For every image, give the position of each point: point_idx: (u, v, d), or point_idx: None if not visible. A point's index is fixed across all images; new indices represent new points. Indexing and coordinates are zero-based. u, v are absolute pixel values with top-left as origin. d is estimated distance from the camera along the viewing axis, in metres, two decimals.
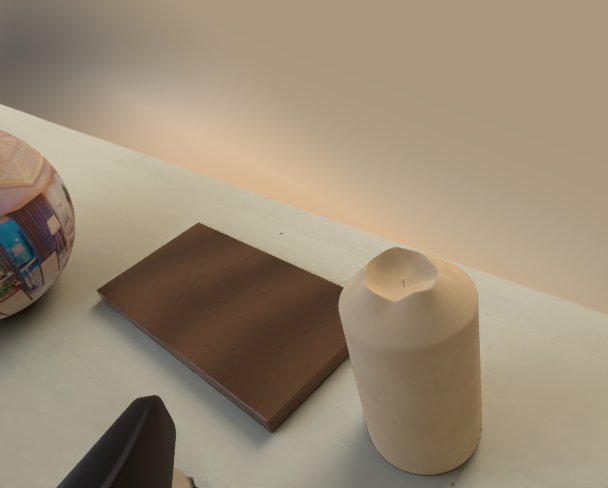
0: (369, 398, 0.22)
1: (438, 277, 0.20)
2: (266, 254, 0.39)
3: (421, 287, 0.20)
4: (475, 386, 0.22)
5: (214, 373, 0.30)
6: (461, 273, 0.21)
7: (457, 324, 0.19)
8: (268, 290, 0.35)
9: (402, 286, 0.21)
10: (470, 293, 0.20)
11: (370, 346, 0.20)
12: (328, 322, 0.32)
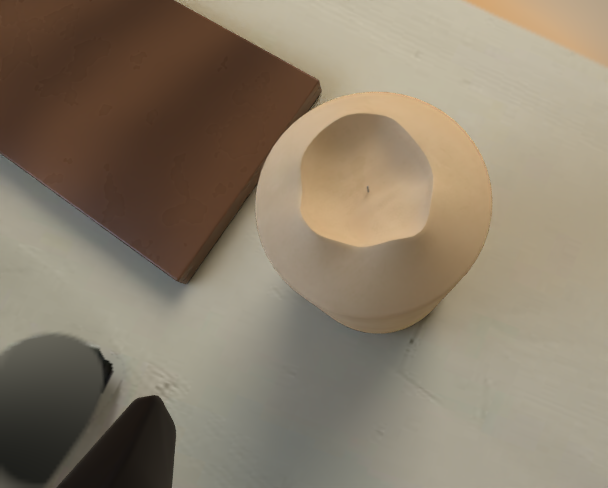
0: None
1: (434, 195, 0.11)
2: None
3: (399, 196, 0.11)
4: None
5: (90, 208, 0.22)
6: (467, 153, 0.12)
7: (458, 270, 0.11)
8: (140, 52, 0.23)
9: (364, 191, 0.12)
10: (481, 202, 0.12)
11: (316, 305, 0.12)
12: (239, 112, 0.22)
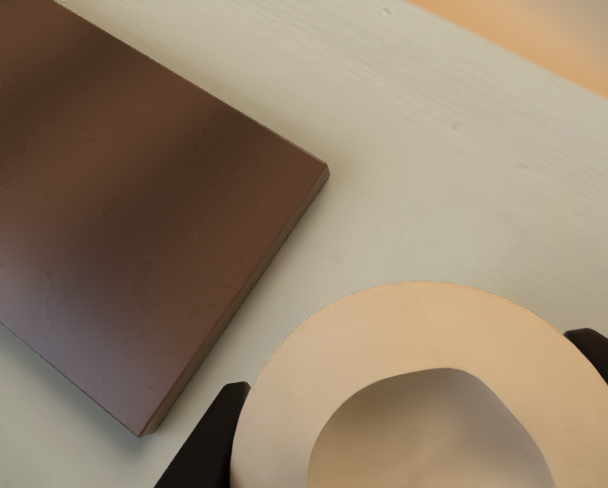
0: None
1: None
2: (76, 18, 0.19)
3: None
4: None
5: (26, 330, 0.17)
6: (607, 423, 0.07)
7: None
8: (95, 120, 0.18)
9: None
10: None
11: None
12: (221, 206, 0.16)
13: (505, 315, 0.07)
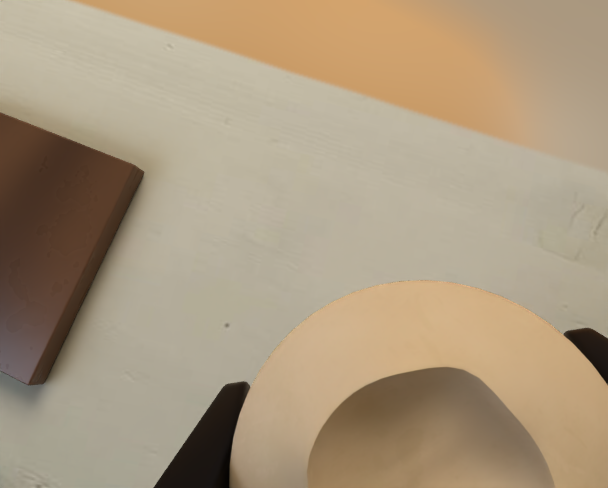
0: None
1: None
2: None
3: None
4: None
5: None
6: (607, 423, 0.07)
7: None
8: None
9: None
10: None
11: None
12: (64, 209, 0.22)
13: (505, 314, 0.07)
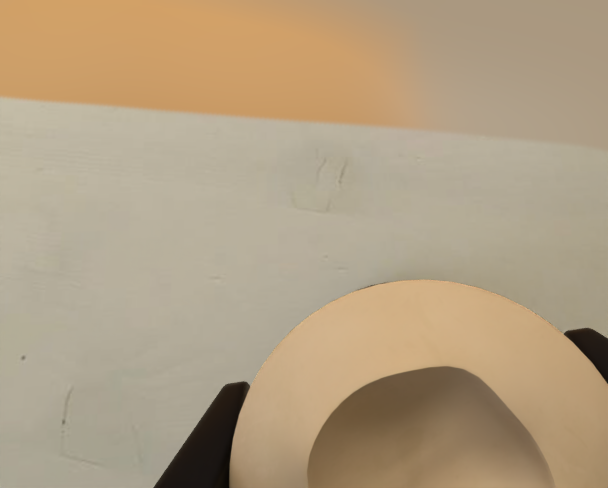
0: None
1: None
2: None
3: None
4: None
5: None
6: (607, 422, 0.07)
7: None
8: None
9: None
10: None
11: None
12: None
13: (505, 314, 0.07)
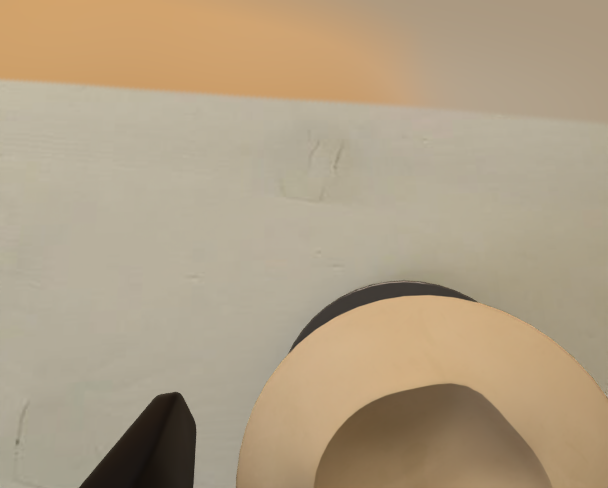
0: None
1: None
2: None
3: None
4: None
5: None
6: (607, 437, 0.07)
7: None
8: None
9: None
10: None
11: None
12: None
13: (507, 329, 0.07)
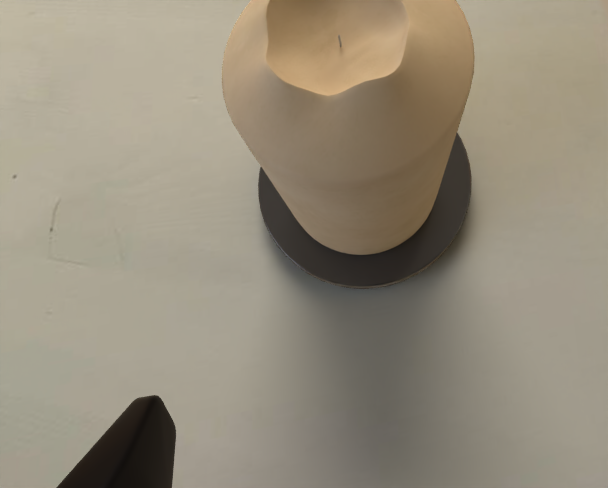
0: (289, 203, 0.15)
1: (409, 36, 0.10)
2: None
3: (374, 49, 0.11)
4: (443, 172, 0.15)
5: None
6: (448, 5, 0.11)
7: (438, 127, 0.11)
8: None
9: (337, 45, 0.11)
10: (462, 55, 0.11)
11: (286, 173, 0.11)
12: None
13: None
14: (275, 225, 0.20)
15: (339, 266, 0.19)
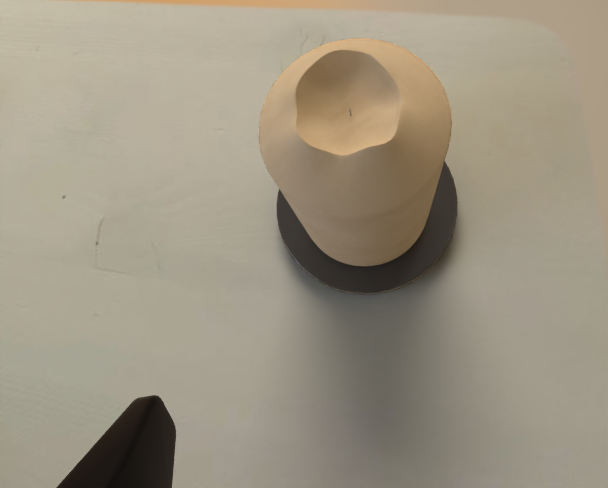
0: (307, 227, 0.18)
1: (401, 112, 0.13)
2: None
3: (375, 118, 0.14)
4: (431, 202, 0.18)
5: None
6: (431, 84, 0.14)
7: (423, 176, 0.14)
8: None
9: (348, 114, 0.14)
10: (442, 122, 0.14)
11: (308, 209, 0.15)
12: None
13: (389, 45, 0.15)
14: (291, 241, 0.23)
15: (346, 276, 0.23)
